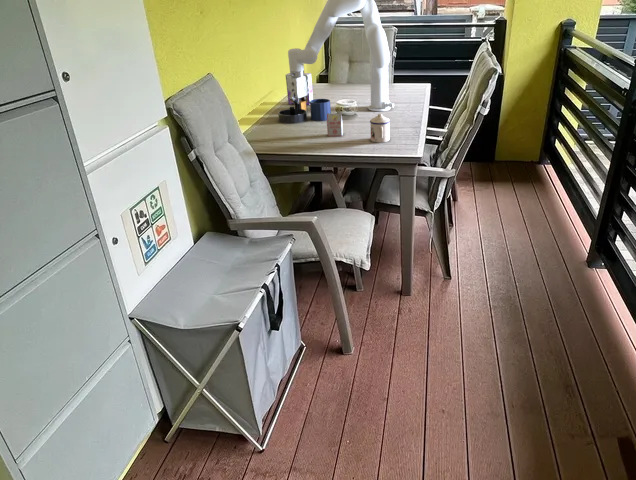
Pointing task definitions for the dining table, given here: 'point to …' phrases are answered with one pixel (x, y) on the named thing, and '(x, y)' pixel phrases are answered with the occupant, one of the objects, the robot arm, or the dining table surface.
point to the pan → (292, 116)
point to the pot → (320, 109)
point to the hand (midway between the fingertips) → (300, 109)
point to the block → (303, 105)
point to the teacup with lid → (380, 129)
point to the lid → (292, 111)
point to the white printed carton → (334, 125)
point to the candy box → (309, 84)
